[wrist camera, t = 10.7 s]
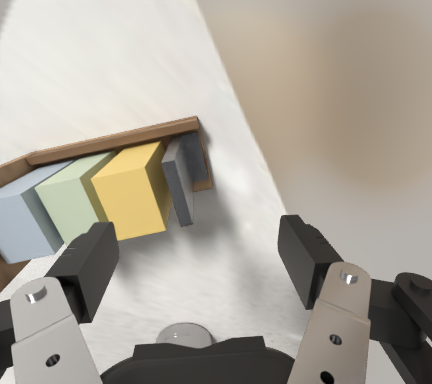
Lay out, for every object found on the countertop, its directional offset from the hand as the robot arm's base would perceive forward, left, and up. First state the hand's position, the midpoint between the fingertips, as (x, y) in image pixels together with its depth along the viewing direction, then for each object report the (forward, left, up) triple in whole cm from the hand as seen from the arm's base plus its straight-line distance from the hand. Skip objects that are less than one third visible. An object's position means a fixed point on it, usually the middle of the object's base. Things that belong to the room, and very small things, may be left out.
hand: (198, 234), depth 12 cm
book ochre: (-1, +6, -17) cm, 18 cm away
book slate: (-1, +15, -17) cm, 23 cm away
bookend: (-1, +2, -17) cm, 17 cm away
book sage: (-1, +11, -17) cm, 20 cm away
